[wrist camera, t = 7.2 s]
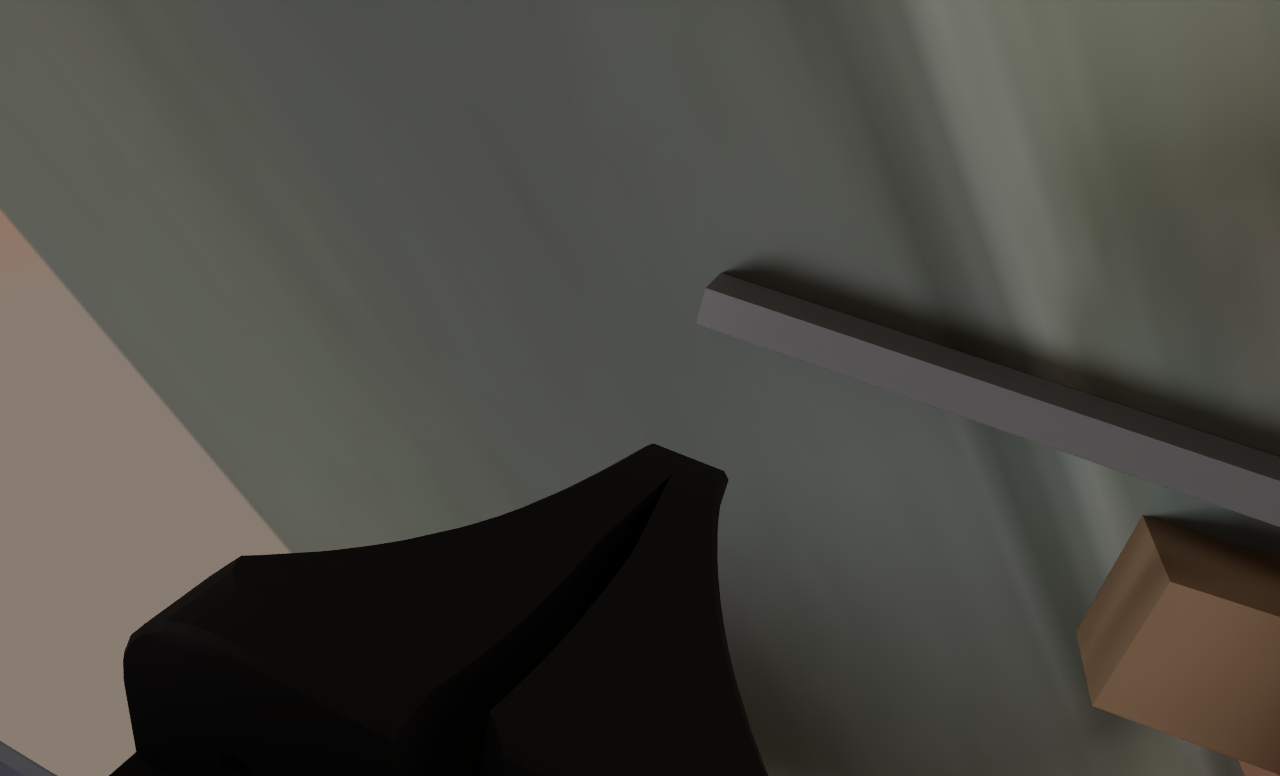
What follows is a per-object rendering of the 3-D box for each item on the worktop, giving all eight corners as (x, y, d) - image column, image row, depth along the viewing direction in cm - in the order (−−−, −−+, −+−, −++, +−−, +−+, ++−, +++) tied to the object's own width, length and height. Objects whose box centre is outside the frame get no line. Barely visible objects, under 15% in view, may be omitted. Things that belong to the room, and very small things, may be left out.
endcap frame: (658, 495, 24) (603, 582, 20) (720, 272, 20) (667, 325, 16) (1429, 809, 19) (1549, 1000, 15) (1689, 592, 16) (1931, 771, 12)
